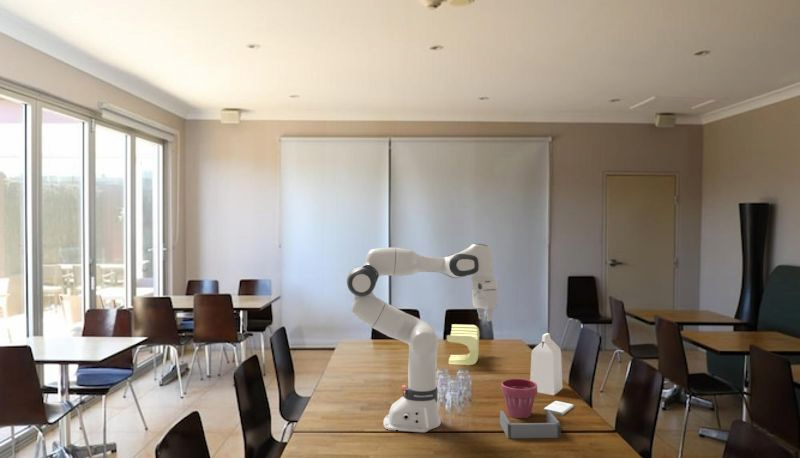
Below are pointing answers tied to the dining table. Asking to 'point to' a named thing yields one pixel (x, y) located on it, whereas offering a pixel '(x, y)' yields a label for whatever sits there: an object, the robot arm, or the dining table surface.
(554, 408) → the external hard drive
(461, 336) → the slatted curved stool
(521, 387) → the plant pot
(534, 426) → the frame
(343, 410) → the dining table surface
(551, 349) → the milk
